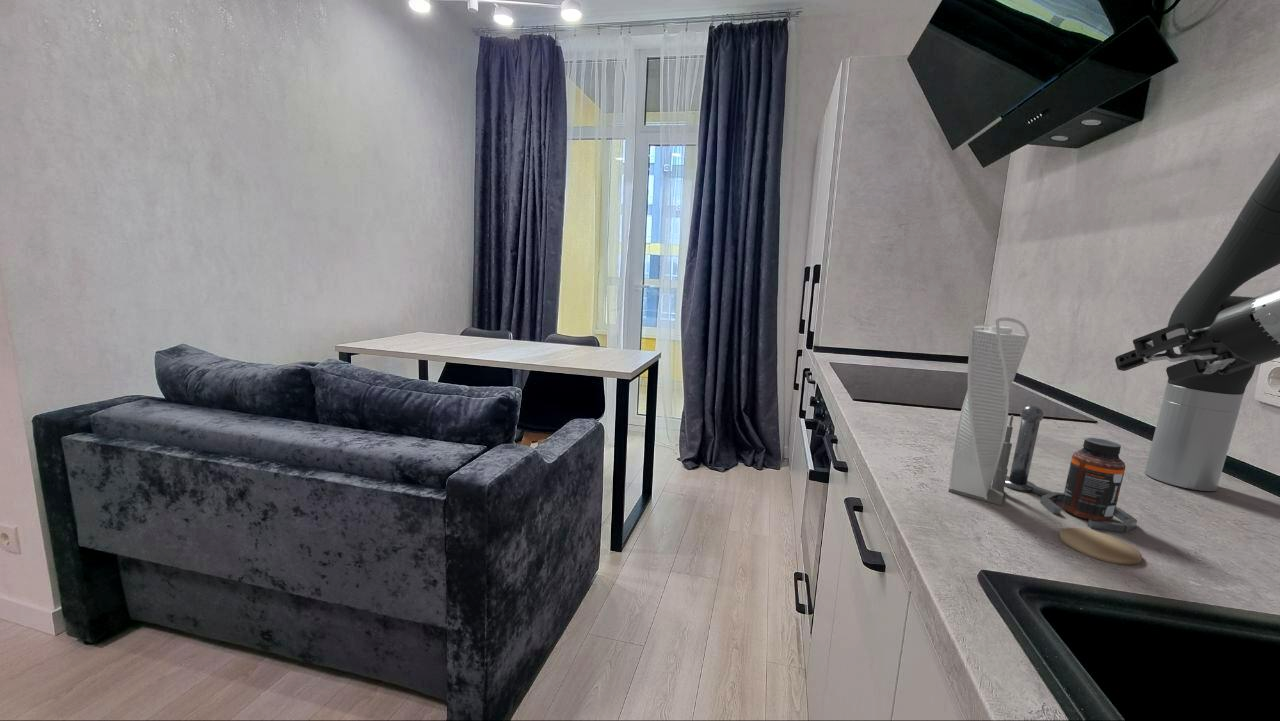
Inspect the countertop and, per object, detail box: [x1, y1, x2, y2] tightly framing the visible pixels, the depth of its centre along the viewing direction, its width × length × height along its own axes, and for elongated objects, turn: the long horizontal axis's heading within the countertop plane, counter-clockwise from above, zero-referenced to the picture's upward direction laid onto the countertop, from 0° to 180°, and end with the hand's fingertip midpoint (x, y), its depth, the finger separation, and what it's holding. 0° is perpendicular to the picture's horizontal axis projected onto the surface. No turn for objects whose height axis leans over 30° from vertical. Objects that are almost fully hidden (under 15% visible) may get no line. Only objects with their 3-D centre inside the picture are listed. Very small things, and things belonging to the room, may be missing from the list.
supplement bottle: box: [1061, 437, 1126, 522], centre depth 77 cm, size 6×6×11 cm
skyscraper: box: [948, 317, 1030, 506], centre depth 81 cm, size 8×8×28 cm
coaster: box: [1059, 527, 1143, 566], centre depth 68 cm, size 8×8×1 cm
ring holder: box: [1004, 404, 1138, 534], centre depth 80 cm, size 10×18×14 cm, turn 31°
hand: (1143, 369), depth 77 cm, fingers open, 8 cm apart
